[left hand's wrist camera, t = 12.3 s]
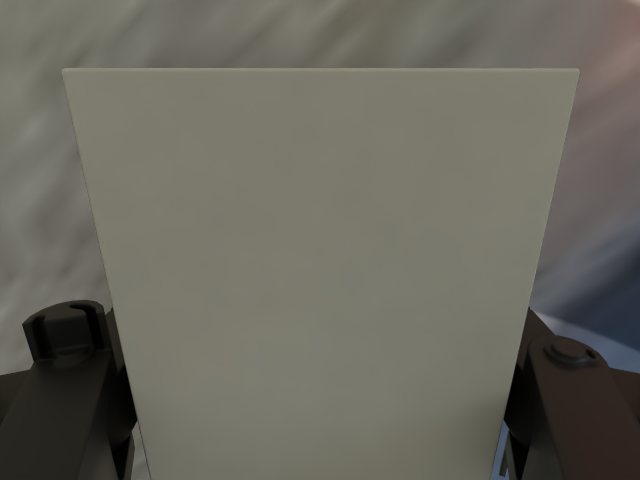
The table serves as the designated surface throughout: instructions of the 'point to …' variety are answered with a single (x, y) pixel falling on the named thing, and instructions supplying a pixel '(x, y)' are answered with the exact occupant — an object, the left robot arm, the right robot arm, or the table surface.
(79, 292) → the table surface
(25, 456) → the left robot arm
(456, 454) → the beam
